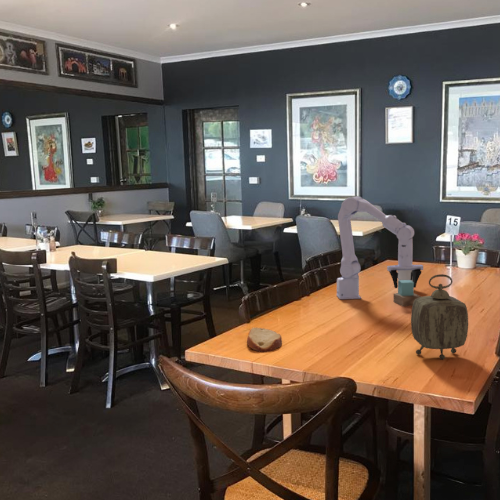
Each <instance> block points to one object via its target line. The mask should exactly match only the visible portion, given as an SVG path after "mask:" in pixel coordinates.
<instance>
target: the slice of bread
mask: <svg viewBox="0 0 500 500" xmlns="http://www.w3.org/2000/svg"><path fill="white" fill-rule="evenodd" d="M282 339H283V338H282V334H280V333H277V332H276V330H275V331H274V330H272V329H269V328H264V327H263V328H262V327H251V328H250V329H249V332H248V335H247V339H246V344H247V345H248V347H249V348H251V349H252V350H253V351H255V352H259V353H267V352H273V351H274V350H276V349H278V348H280V347H281V346H282V345H283V344H282V343H283V340H282Z"/></svg>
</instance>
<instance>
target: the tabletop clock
mask: <svg viewBox="0 0 500 500" xmlns="http://www.w3.org/2000/svg"><path fill="white" fill-rule="evenodd" d="M440 277H443V278H447V279H449V280H450V283H449V284H446V285H443V284H442V283H439V284H438V286H435V285H432V283H431V282H432V280H433V279H435V278H440ZM428 284H429V286H430V287H431V288H433V289H435V290H434V291H433V292H432V293H431V295H424V296H421V297H419V298H417V299H415V300H414V303H413V306H411V314H410V325H411V326H410V328H411V334H412V336H413V339H414V341H416V342H417V343H418V344H419V345H420V348H419V349H416V350H415V354H416V355H418V356H419V355H421V354H422V350H423V349H424V348H426V349H429V350H430V349H431V350H440V355H438V356H439V360H442V361H443V360H445V359H446V356H445V355H444V350H448V349H450V353H452V354H456V353H457V348H460V347H462V346H465V343H466V341H467V338H468V333H469V312H468V307H467V305H466V303H465V302H463V301H462V300H459V299H457V298H456V297H453V296H450V294H449V292H448V291H446V290H445V289H447V288H449V287H451V286H452V285H453V278H452V277H451V276H449V274H448V275H447V274H444V273H443V274H435V275H432V276H431V277H430V278H429V280H428Z"/></svg>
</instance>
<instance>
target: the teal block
mask: <svg viewBox="0 0 500 500" xmlns="http://www.w3.org/2000/svg"><path fill="white" fill-rule="evenodd" d="M397 283H398V287H397V293H398V294H400V295H401V296H412V295H414V294H415V293H414V292H415V291H414V290H415V288H414V282H412V281H411V280H397Z"/></svg>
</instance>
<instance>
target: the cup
mask: <svg viewBox="0 0 500 500" xmlns="http://www.w3.org/2000/svg"><path fill="white" fill-rule="evenodd" d="M397 273H398V280H411V281H413V277H412V270H401V271H397ZM398 280H397V281H398Z"/></svg>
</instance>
